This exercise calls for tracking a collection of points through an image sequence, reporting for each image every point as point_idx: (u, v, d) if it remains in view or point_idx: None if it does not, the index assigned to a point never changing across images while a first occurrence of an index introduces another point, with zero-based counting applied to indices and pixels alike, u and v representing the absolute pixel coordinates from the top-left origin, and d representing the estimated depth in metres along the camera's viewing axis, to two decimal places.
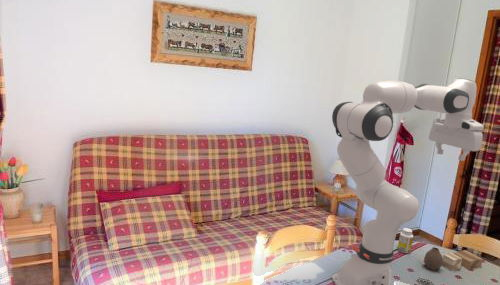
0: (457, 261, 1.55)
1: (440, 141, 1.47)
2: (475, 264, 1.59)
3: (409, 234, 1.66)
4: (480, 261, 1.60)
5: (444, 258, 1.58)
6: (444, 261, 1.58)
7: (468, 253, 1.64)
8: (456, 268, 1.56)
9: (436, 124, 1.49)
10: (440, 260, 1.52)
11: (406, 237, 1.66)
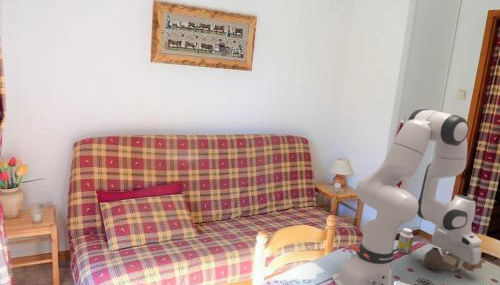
0: (457, 261, 1.55)
1: (442, 247, 1.60)
2: (474, 265, 1.59)
3: (409, 234, 1.66)
4: (480, 262, 1.60)
5: (444, 258, 1.58)
6: (444, 260, 1.58)
7: None
8: (456, 268, 1.56)
9: (438, 231, 1.61)
10: (440, 260, 1.52)
11: (406, 237, 1.66)
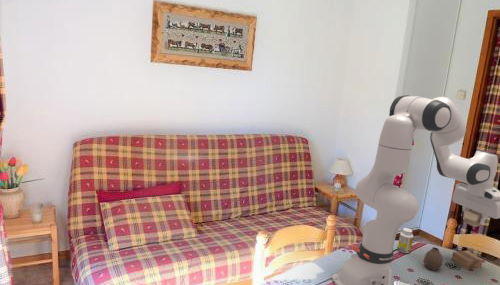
0: (479, 217, 1.55)
1: (463, 205, 1.59)
2: (474, 265, 1.59)
3: (409, 234, 1.66)
4: (480, 262, 1.59)
5: (466, 214, 1.58)
6: (466, 217, 1.58)
7: (469, 253, 1.64)
8: (478, 224, 1.56)
9: (459, 189, 1.61)
10: (440, 260, 1.52)
11: (406, 237, 1.66)
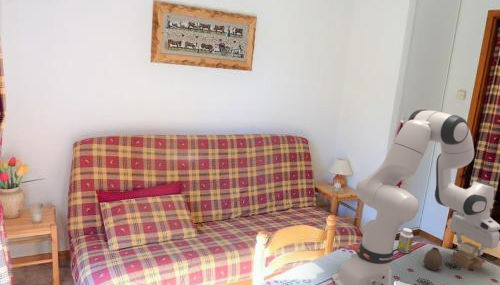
0: (474, 249, 1.59)
1: (460, 233, 1.63)
2: (473, 265, 1.58)
3: (409, 234, 1.66)
4: (480, 262, 1.59)
5: (461, 246, 1.62)
6: (462, 249, 1.62)
7: None
8: (473, 256, 1.60)
9: (456, 217, 1.64)
10: (440, 260, 1.52)
11: (406, 237, 1.66)
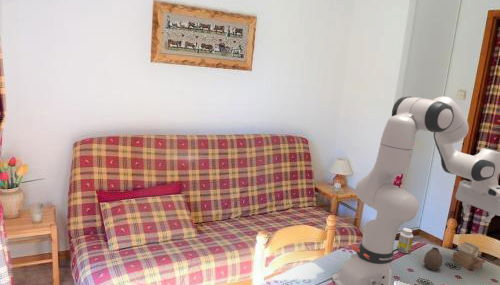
0: (474, 250, 1.59)
1: (467, 202, 1.60)
2: (474, 265, 1.58)
3: (409, 234, 1.66)
4: (480, 263, 1.59)
5: (461, 247, 1.62)
6: (462, 250, 1.61)
7: None
8: (473, 257, 1.60)
9: (463, 186, 1.61)
10: (440, 260, 1.52)
11: (406, 237, 1.66)
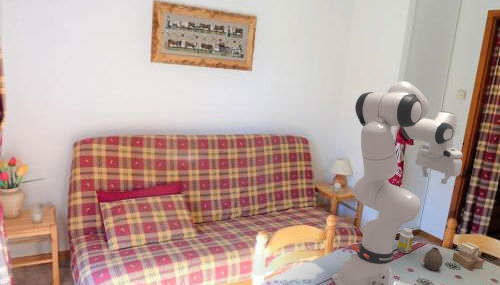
0: (475, 250, 1.59)
1: (425, 166, 1.65)
2: (474, 265, 1.58)
3: (409, 234, 1.66)
4: (481, 263, 1.59)
5: (461, 247, 1.62)
6: (462, 250, 1.61)
7: None
8: (474, 257, 1.60)
9: (422, 150, 1.66)
10: (440, 260, 1.52)
11: (406, 237, 1.66)
